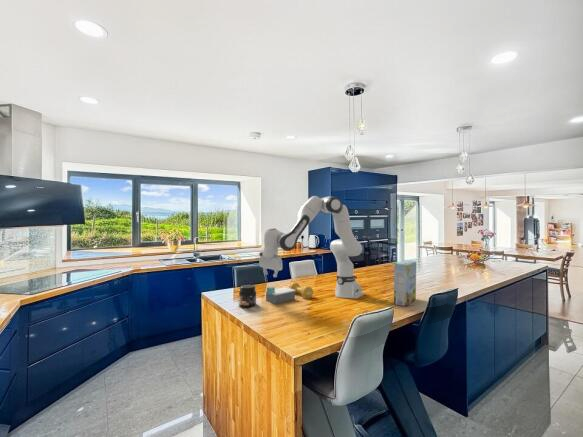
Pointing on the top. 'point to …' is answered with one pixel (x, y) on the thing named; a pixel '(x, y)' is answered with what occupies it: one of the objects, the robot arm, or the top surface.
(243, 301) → the supplement container
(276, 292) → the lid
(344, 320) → the top surface
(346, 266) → the robot arm
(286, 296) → the tub
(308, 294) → the dumbbell
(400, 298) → the snack box
